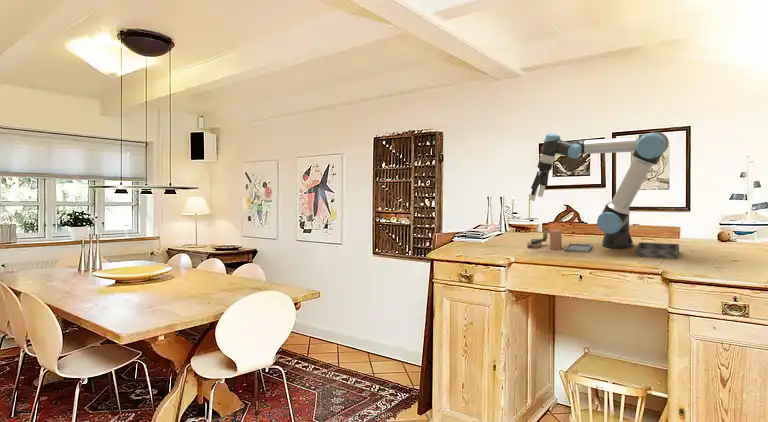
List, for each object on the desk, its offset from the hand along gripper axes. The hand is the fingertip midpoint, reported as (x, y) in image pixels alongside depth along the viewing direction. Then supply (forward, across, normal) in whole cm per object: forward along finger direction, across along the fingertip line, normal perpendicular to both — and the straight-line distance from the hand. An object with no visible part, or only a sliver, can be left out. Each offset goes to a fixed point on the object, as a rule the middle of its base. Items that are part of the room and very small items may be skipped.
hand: (535, 198), depth 271 cm
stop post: (+23, +2, +19) cm, 30 cm away
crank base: (+27, +2, +7) cm, 28 cm away
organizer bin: (+8, 0, +66) cm, 66 cm away
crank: (+24, -1, +9) cm, 25 cm away
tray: (+20, +1, +30) cm, 36 cm away
